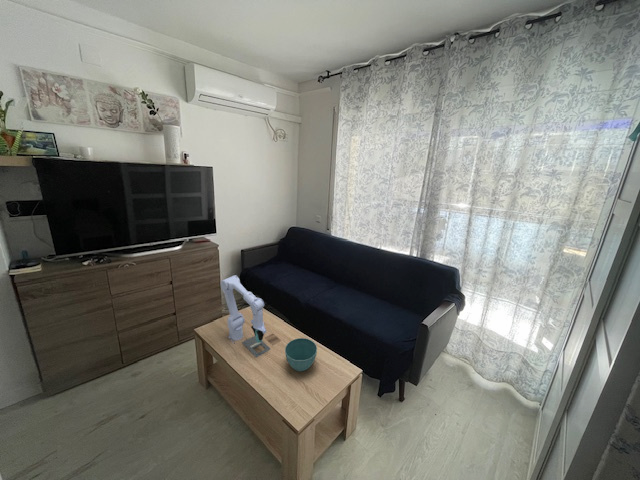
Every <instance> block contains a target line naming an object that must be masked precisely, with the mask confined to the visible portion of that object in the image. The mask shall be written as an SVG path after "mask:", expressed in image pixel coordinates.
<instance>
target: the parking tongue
mask: <svg viewBox="0 0 640 480" xmlns="http://www.w3.org/2000/svg"><path fill="white" fill-rule="evenodd" d="M264 339H265V340H266V341H267V342H268V343H269V344H270V345H271V346H272V347H273V346H276V345H277V344H278V343H280V342H282V340H281V339H280V338H279V337H278V336H277V335H276V334H274V333H271V334H269V335H268V336H265V337H264Z"/></svg>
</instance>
